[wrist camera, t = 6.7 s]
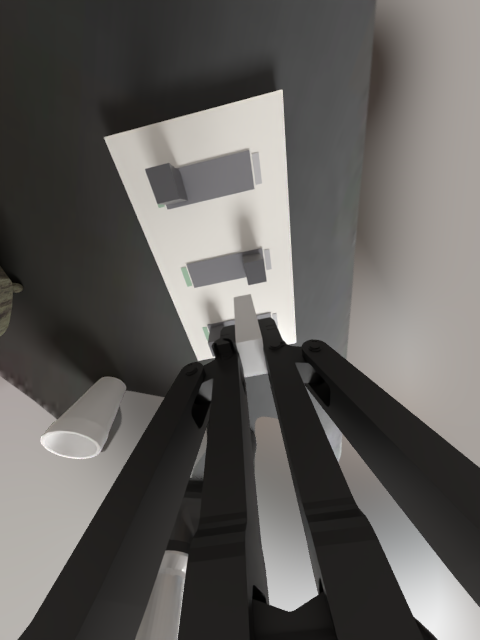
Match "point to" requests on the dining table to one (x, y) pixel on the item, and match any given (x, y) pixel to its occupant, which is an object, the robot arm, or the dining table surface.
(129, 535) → the robot arm
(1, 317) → the tabletop clock
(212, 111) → the breaker panel
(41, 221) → the dining table surface
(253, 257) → the handle
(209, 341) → the handle
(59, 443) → the foam cup
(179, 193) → the handle
